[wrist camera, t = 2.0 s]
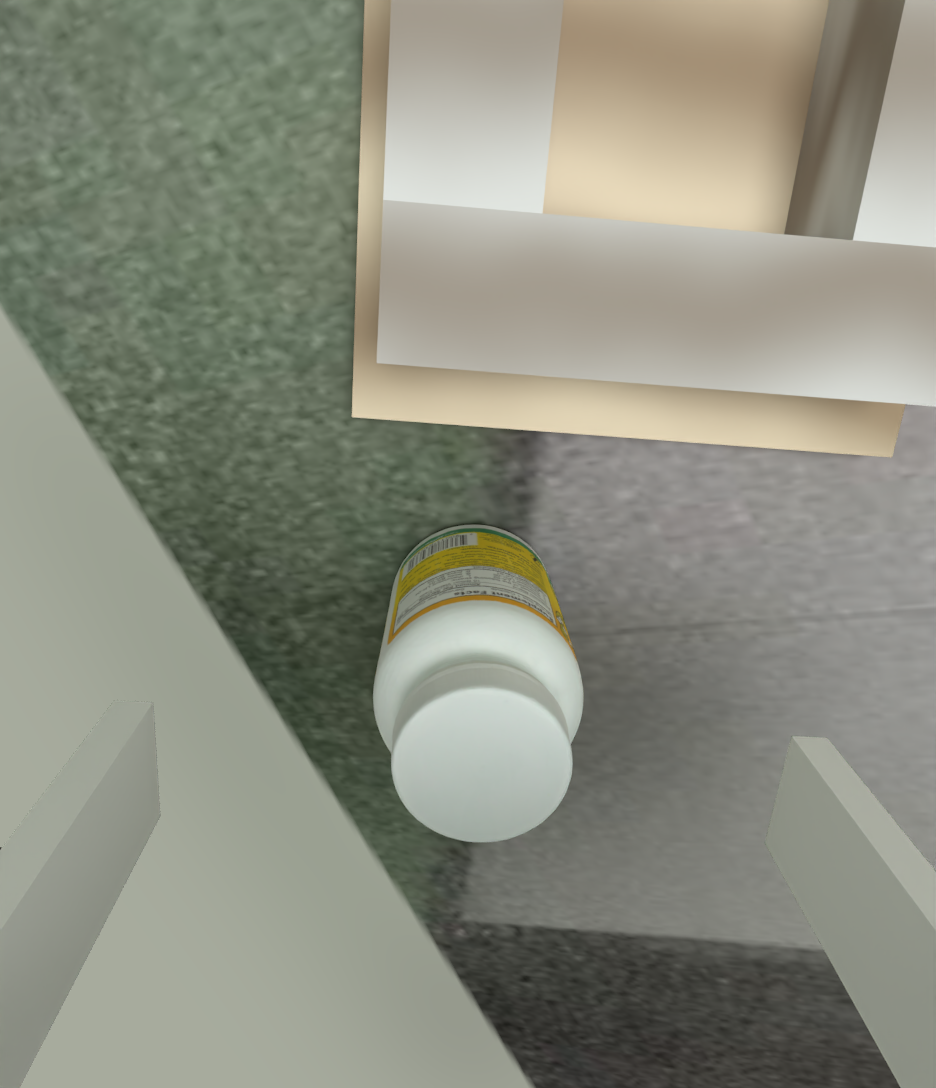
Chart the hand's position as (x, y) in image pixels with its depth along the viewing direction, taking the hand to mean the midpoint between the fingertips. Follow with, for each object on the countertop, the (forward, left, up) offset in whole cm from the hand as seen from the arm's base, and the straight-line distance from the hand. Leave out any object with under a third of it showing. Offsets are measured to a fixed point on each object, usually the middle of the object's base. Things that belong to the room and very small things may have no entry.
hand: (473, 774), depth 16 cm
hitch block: (+15, -4, -10) cm, 18 cm away
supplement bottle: (0, 0, -11) cm, 11 cm away
